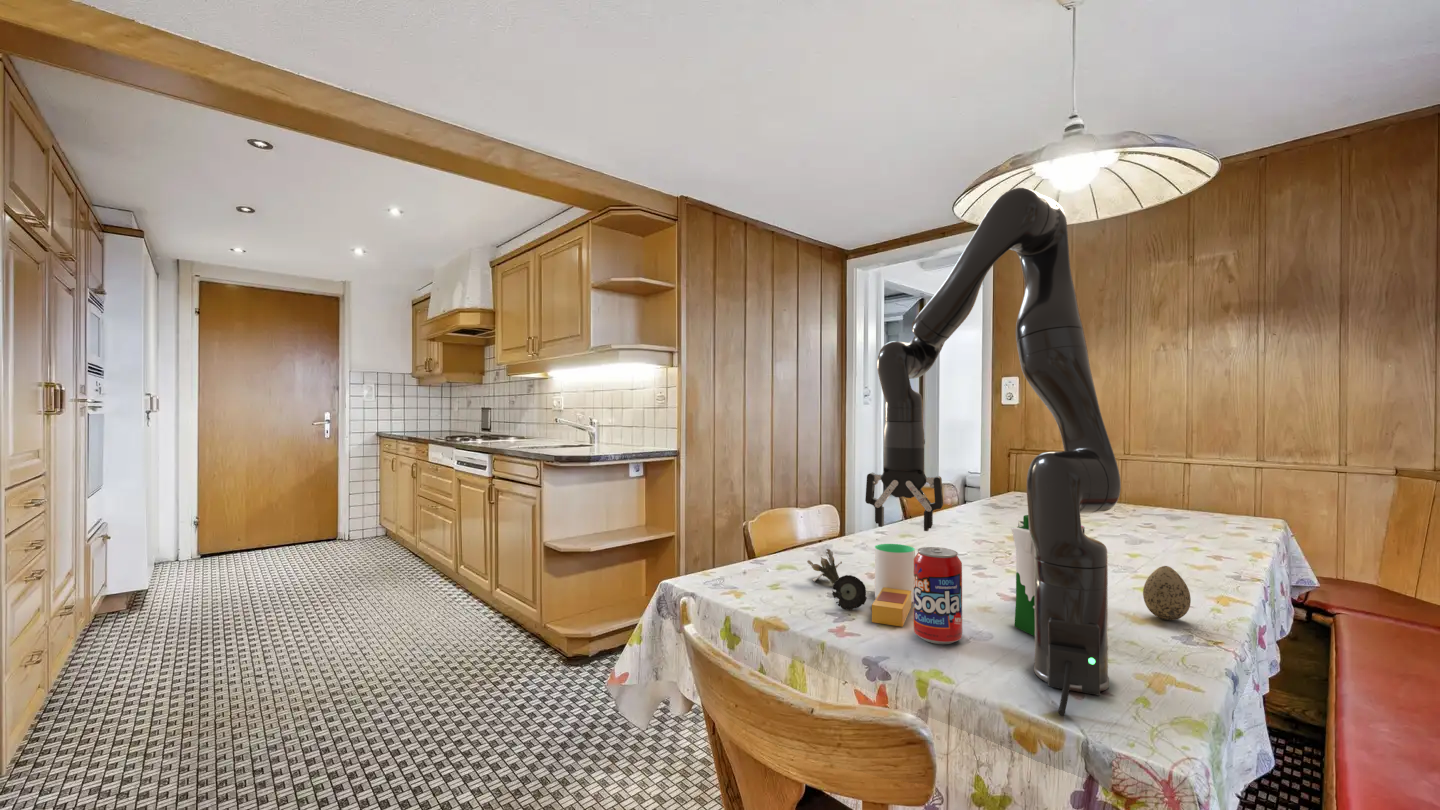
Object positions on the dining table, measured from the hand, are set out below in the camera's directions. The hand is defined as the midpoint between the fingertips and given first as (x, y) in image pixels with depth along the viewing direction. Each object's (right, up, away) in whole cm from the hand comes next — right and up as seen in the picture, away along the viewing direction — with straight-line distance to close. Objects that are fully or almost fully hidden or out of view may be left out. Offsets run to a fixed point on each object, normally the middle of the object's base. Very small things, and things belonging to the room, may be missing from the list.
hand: (903, 528), depth 115 cm
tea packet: (-2, -16, -1) cm, 17 cm away
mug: (+1, -16, +11) cm, 20 cm away
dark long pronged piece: (-11, -16, +12) cm, 23 cm away
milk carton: (+22, -16, -10) cm, 29 cm away
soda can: (+2, -16, -13) cm, 21 cm away
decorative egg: (+48, -16, -4) cm, 51 cm away
